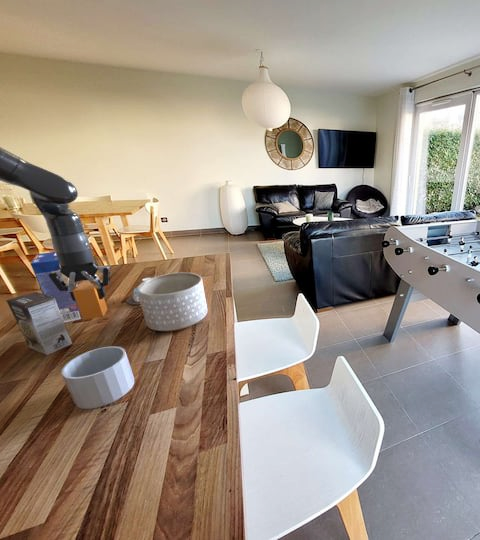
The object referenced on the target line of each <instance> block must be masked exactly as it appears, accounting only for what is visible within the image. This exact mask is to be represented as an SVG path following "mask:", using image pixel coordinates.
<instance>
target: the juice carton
mask: <svg viewBox="0 0 480 540" xmlns="http://www.w3.org/2000/svg"><path fill="white" fill-rule="evenodd" d="M77 284H78V283H77ZM96 289H97V288H96V287H95V286H94V285H93V284H92V283H91V282H87V283H79V284H78V285H77V286H76V288H75V289H74V290H73V294H74V297H75V300H76V302H77V305H78V308H79V311H80V314H81V316H82V319H81V320H83V321H85V320H91V319H98V318H103V317H104V316H105V314H106V313H107V311H108V306H107V304H106V300H105V297H104V298H103V299H99V296H98V293H97V290H96Z"/></svg>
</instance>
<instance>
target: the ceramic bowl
mask: <svg viewBox="0 0 480 540" xmlns="http://www.w3.org/2000/svg"><path fill="white" fill-rule="evenodd" d="M61 377H62V378H63V381H64V383H65V385H66V387H67V388H66V389H68V392H69V395H70V397H71V399H72V401H73V403H74V405H75V406H76V407H77V408H79V409H82V410H92V409H97V408H98V409H99V408H101V407H104V406H107V405H109V404H112V403H114V402H116V401H118V400H119V399H121V398H123V397H124V396H125V395H127V393H128V392H130V391H131V390H132V388H133V387H134V385H135V382H136V381H135V376H134V374H133V370H132V367H131V364H130V361H129V358H128V355H127V352H126V350H125V348H123V347H122V346H115V345H111V346H104V347H103V346H102V347H98V348H95V349H92V350H89V351H86V352H83V353H82V354H79V355H77V356H76V357H74V358H72V359H71V360H69V361H68V362H67V363H65V365H64V366H63V368H62V369H61Z"/></svg>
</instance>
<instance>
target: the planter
mask: <svg viewBox="0 0 480 540" xmlns="http://www.w3.org/2000/svg"><path fill="white" fill-rule="evenodd" d="M150 278H151V279H148V280H146V281H144V282H142V281H141V283H140V284H138V286H136V288H137V292H138V296H139V299H140V303H141V305H140V307H141V311H142V313H143V317H144V321H145V324H146V326H147V328H149V329H151V330H154V331H159V332H174V331H180V330H184V329H187V328H190V327H191V326H194V325H196V324H197V323H198V322H200V321H202V320H203V319H204V318H205V317H206V316H207V314H208V312H209V311H208V304H207V299H206V298H207V297H206V293H205V288H204V282H203V278H202V276H201V275H200V274H197V273H195V272H194V273H193V272H172V273H166V274H161V275H160V274H159V275H156V276H153V277H150Z"/></svg>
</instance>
